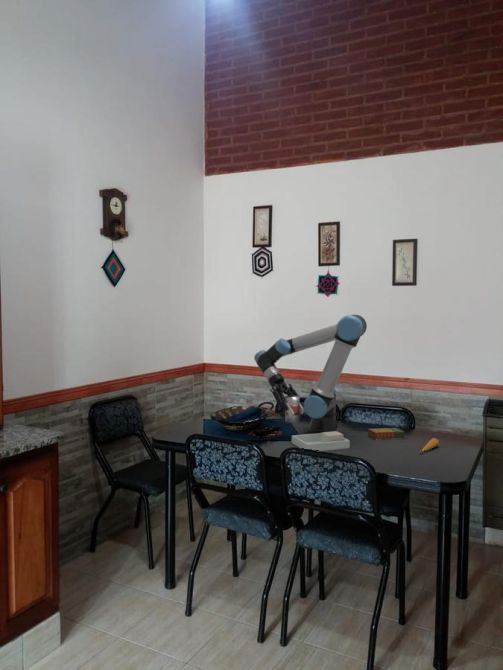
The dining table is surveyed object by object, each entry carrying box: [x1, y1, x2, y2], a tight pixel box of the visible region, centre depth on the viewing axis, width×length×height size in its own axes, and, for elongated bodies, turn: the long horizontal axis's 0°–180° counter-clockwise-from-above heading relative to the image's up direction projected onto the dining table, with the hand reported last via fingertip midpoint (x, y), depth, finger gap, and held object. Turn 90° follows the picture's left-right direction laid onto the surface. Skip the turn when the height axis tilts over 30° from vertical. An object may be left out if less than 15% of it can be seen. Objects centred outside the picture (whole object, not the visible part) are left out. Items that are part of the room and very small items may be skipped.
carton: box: [367, 427, 405, 441], centre depth 279 cm, size 8×16×4 cm, turn 104°
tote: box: [291, 433, 351, 452], centre depth 258 cm, size 22×16×4 cm
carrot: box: [421, 437, 440, 451], centre depth 257 cm, size 20×4×4 cm, turn 139°
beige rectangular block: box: [322, 430, 344, 443], centre depth 258 cm, size 8×6×6 cm
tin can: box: [284, 395, 301, 424], centre depth 271 cm, size 7×7×12 cm
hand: (297, 413), depth 269 cm, fingers closed on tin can, 7 cm apart
